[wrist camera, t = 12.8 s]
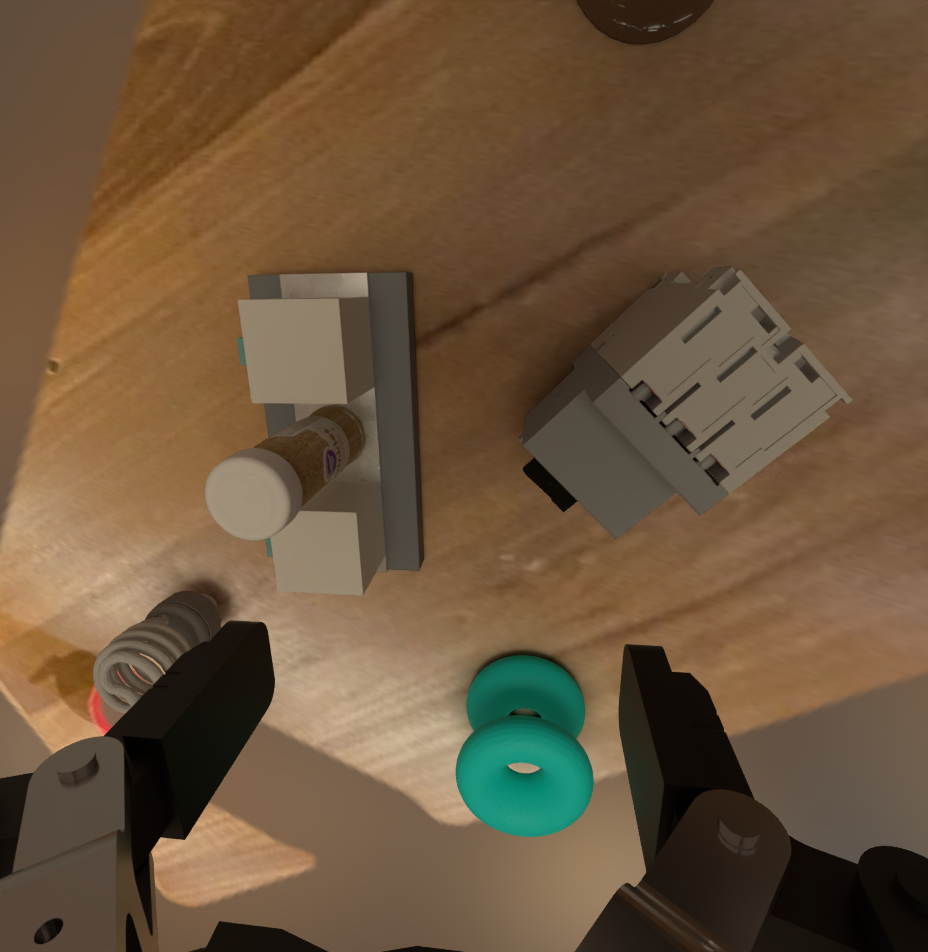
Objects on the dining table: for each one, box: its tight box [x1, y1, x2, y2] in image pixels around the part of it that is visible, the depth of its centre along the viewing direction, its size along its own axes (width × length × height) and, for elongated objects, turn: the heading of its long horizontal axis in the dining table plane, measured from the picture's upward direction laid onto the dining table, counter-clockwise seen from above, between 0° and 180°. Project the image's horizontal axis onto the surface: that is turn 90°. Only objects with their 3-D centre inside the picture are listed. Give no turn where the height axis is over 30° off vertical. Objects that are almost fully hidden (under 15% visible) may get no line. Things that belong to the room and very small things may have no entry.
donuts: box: [456, 655, 594, 837], centre depth 44 cm, size 10×10×10 cm
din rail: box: [279, 273, 388, 572], centre depth 41 cm, size 22×6×1 cm, turn 1°
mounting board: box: [248, 272, 424, 571], centre depth 42 cm, size 22×11×2 cm, turn 1°
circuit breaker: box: [519, 266, 852, 539], centre depth 32 cm, size 8×14×15 cm, turn 136°
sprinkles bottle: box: [205, 406, 365, 541], centre depth 34 cm, size 5×5×13 cm
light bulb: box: [93, 591, 221, 713], centre depth 44 cm, size 6×6×12 cm
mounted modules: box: [237, 297, 385, 596], centre depth 38 cm, size 19×7×6 cm, turn 1°
